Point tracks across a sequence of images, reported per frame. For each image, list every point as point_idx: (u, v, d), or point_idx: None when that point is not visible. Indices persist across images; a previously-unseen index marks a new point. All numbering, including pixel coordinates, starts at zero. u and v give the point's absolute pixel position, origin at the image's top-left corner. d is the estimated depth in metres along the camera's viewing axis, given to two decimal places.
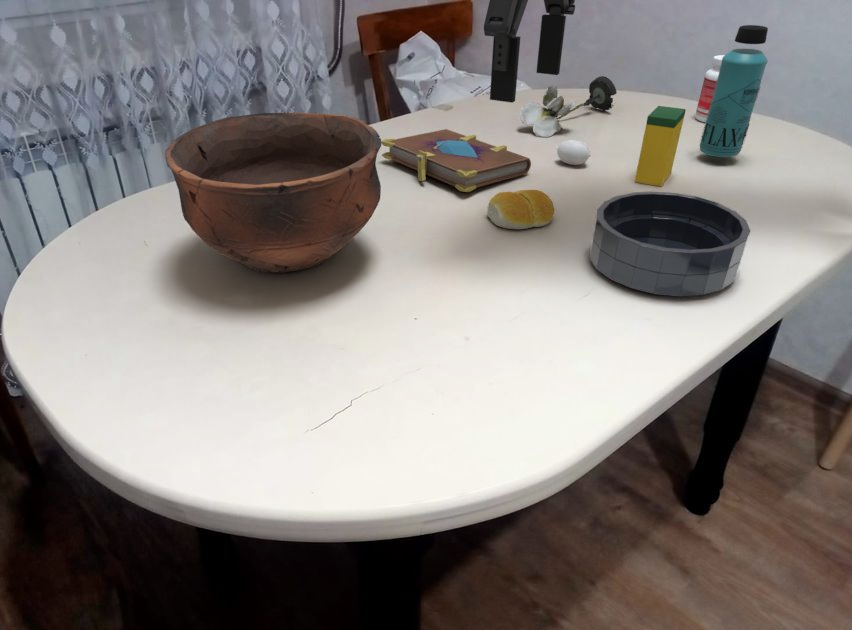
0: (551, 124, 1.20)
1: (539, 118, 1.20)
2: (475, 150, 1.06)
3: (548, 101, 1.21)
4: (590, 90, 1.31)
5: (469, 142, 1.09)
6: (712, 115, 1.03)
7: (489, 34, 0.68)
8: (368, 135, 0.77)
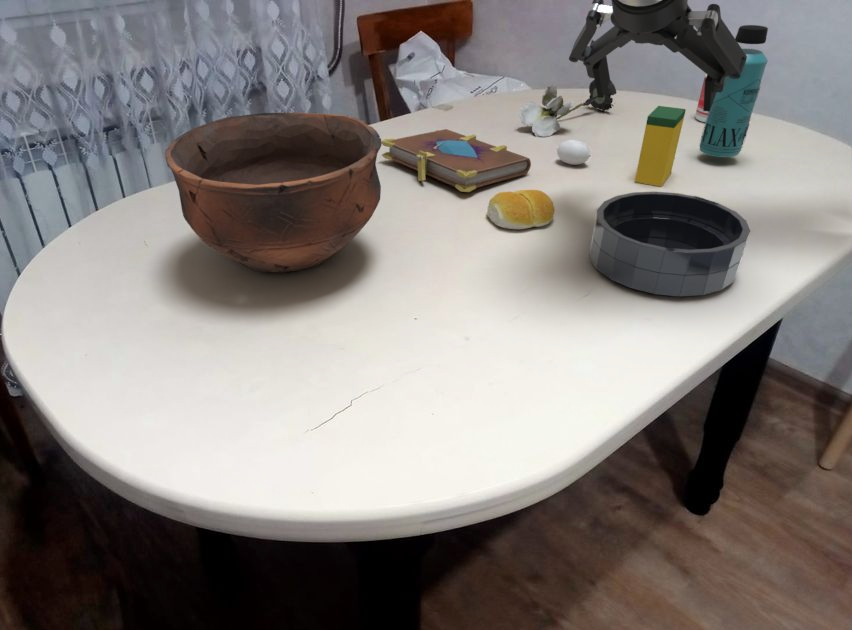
0: (550, 123, 1.20)
1: (538, 118, 1.20)
2: (475, 150, 1.06)
3: (547, 101, 1.21)
4: (590, 90, 1.31)
5: (469, 142, 1.09)
6: (712, 115, 1.03)
7: None
8: (368, 135, 0.77)
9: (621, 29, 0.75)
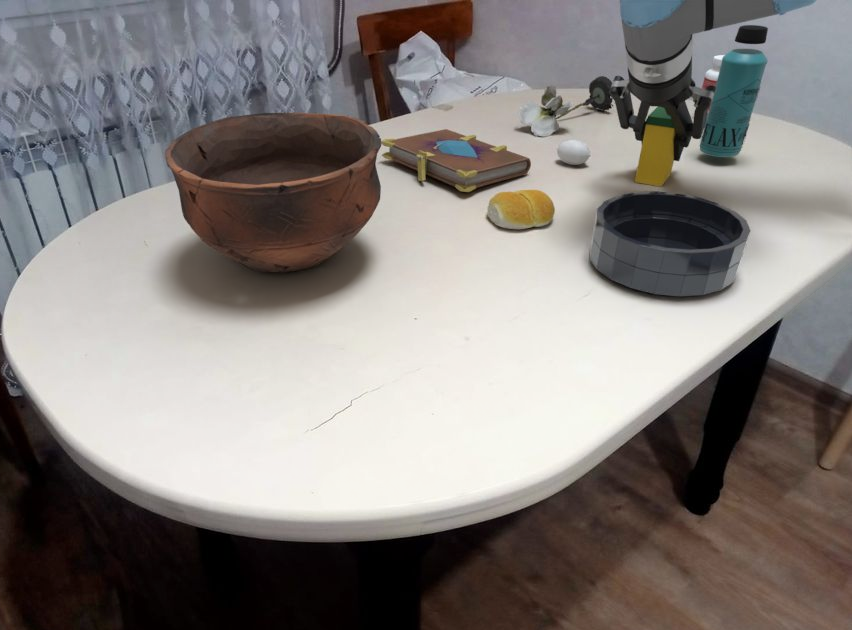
0: (549, 123, 1.21)
1: (538, 118, 1.21)
2: (475, 150, 1.06)
3: (547, 101, 1.21)
4: (590, 90, 1.31)
5: (469, 142, 1.09)
6: (712, 115, 1.03)
7: None
8: (368, 135, 0.77)
9: (635, 95, 0.90)
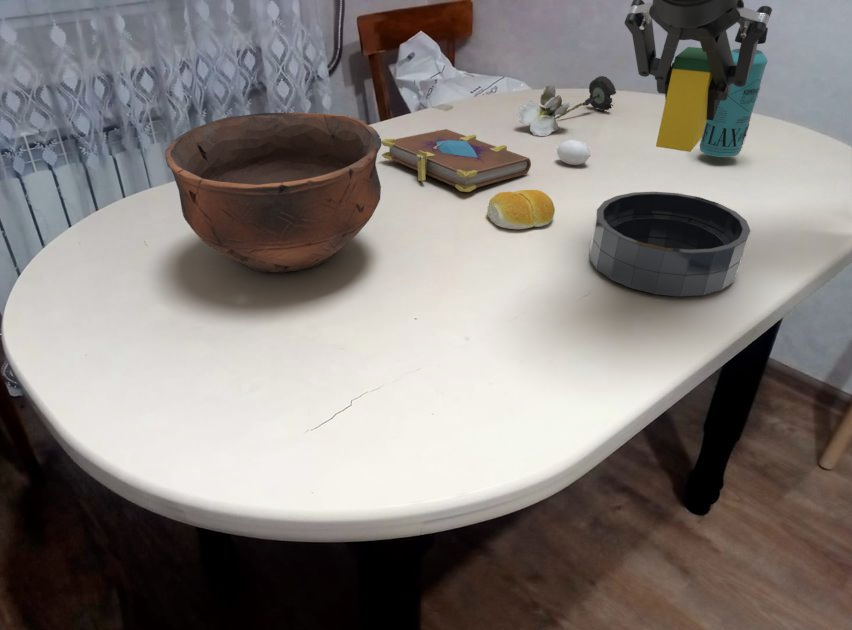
0: (548, 123, 1.21)
1: (537, 118, 1.21)
2: (475, 150, 1.06)
3: (546, 100, 1.21)
4: (590, 90, 1.31)
5: (469, 142, 1.09)
6: None
7: None
8: (368, 135, 0.77)
9: (661, 24, 0.67)
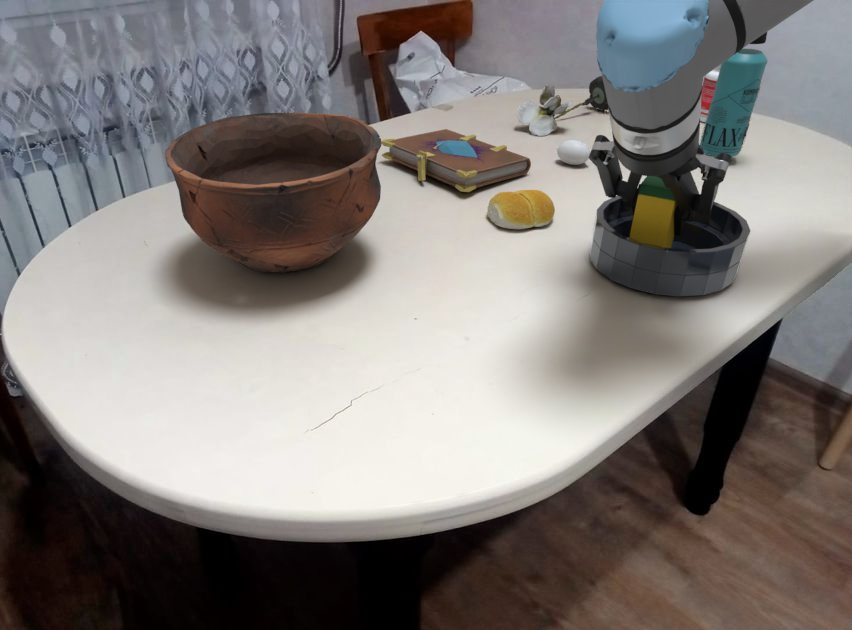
0: (547, 123, 1.21)
1: (536, 117, 1.21)
2: (475, 150, 1.06)
3: (545, 100, 1.22)
4: (590, 90, 1.31)
5: (469, 142, 1.09)
6: (712, 115, 1.03)
7: None
8: (368, 135, 0.77)
9: None
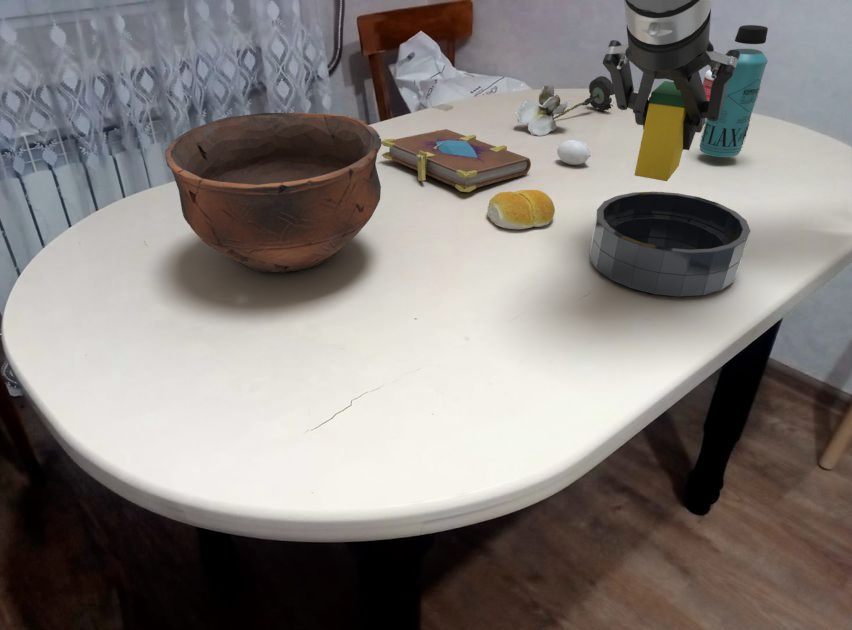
0: (546, 122, 1.21)
1: (535, 117, 1.21)
2: (475, 150, 1.06)
3: (544, 100, 1.22)
4: (590, 90, 1.31)
5: (469, 142, 1.09)
6: None
7: None
8: (368, 135, 0.77)
9: (636, 64, 0.70)
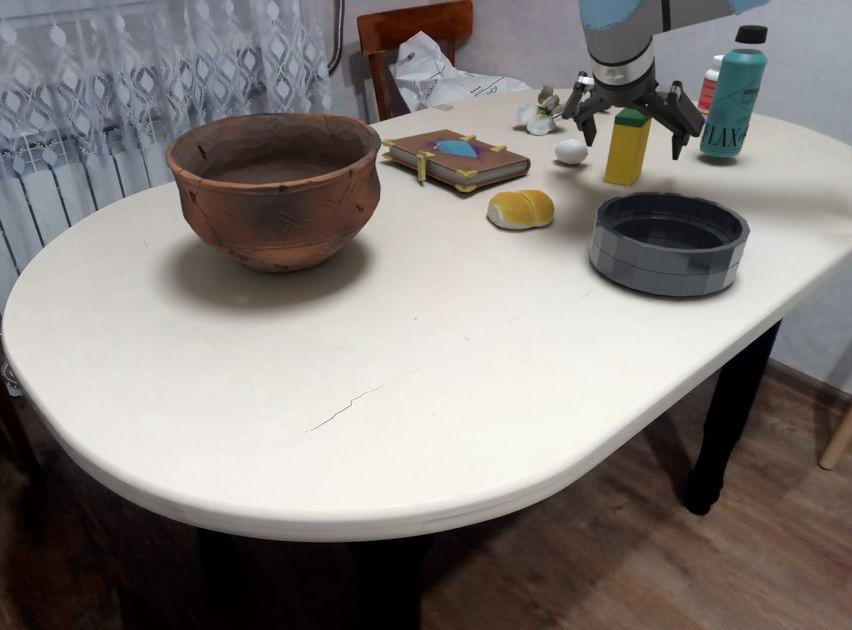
0: (545, 122, 1.21)
1: (534, 117, 1.21)
2: (475, 150, 1.06)
3: (544, 100, 1.22)
4: (590, 90, 1.31)
5: (469, 142, 1.09)
6: (712, 115, 1.03)
7: (684, 138, 0.92)
8: (368, 135, 0.77)
9: (602, 97, 0.90)
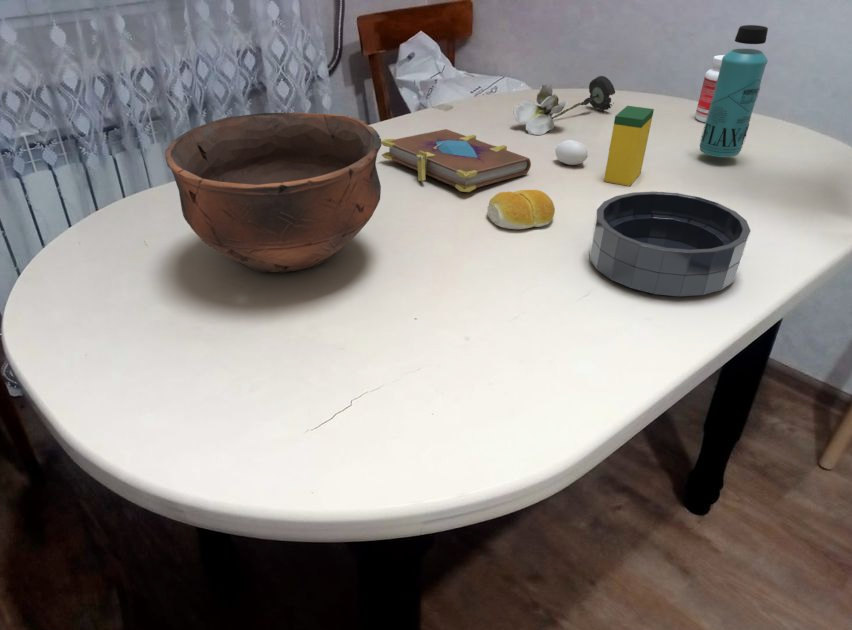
0: (544, 122, 1.21)
1: (533, 116, 1.21)
2: (475, 150, 1.06)
3: (543, 99, 1.22)
4: (590, 89, 1.31)
5: (469, 142, 1.09)
6: (712, 115, 1.03)
7: None
8: (368, 135, 0.77)
9: None
